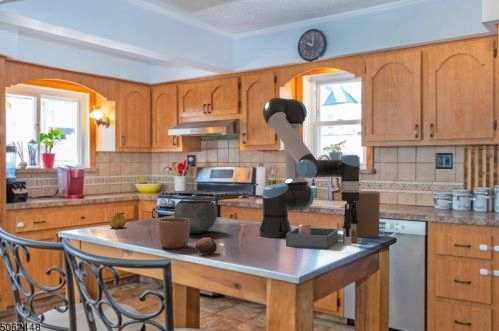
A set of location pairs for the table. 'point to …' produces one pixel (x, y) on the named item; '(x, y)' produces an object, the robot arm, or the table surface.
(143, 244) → the table surface
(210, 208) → the bowl
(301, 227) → the peach colored egg
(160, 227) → the planter
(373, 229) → the wooden block
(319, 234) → the tote
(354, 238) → the walnut cube
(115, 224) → the fruit
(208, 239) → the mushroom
